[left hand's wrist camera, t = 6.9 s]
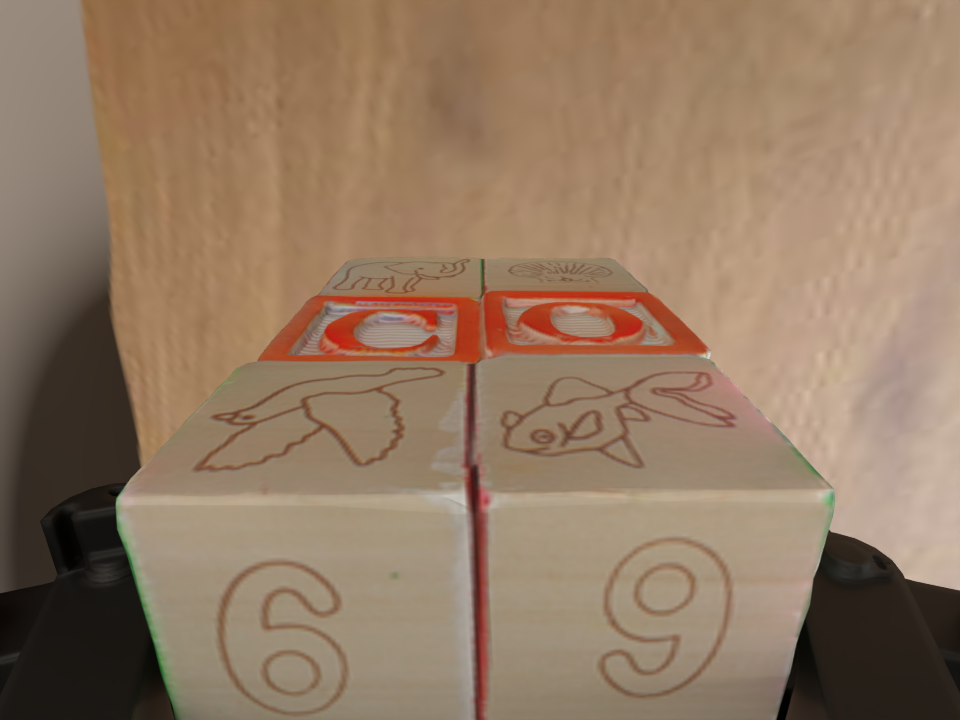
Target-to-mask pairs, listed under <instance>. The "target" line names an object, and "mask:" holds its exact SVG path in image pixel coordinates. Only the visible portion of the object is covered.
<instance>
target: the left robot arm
mask: <svg viewBox="0 0 960 720" xmlns="http://www.w3.org/2000/svg"><path fill="white" fill-rule="evenodd" d="M126 485H127V483H116V484H110V485H105V486H101V487H97V488H93V489H90V490H87V491H85V492H82V493H80V494H77V495H75V496H72V497H70V498H68V499H67V500H65V501H64V502H62V503H60V504H59V505H57V506H56V507H54V508H52V509H51V510H50V511H49V512H48V514H47V515H46V516H45V517H44V518H43V519H42V520H41V521H40V522H41V525H42V528H43V531H44V534H45V537H46V540H47V543H48V546H49V549H50V553H51V556H52V559H53V562H54V565H55V568H56V571H57V574H58V575H57V577H56V579H55V581H54V582H51V583H47V584H43V585H39V586H33V587H29V588H24V589H19V590H14V591H9V592H5V593H0V720H175V715H174V711H173V706H172V703H171V701H170V698H169V696H168V693H167V690H166V687H165V684H164V681H163V678H162V675H161V671H160V667H159V663H158V659H157V655H156V651H155V647H154V643H153V640H152V637H151V634H150V630H149V627H148V624H147V621H146V617H145V614H144V611H143V608H142V604H141V601H140V598H139V594H138V591H137V587H136V584H135V581H134V577H133V574H132V570H131V567H130V564H129V560H128V557H127V553H126V551H125V548H124V546H123V543H122V540H121V538H120V535H119V533H118V530H117V517H116V498H117V496H118V495H119V494H120V493H121V491H122V490H123V489H124V487H125V486H126ZM776 720H960V591H959V590H954V589H949V588H945V587H940V586H935V585H930V584H925V583H921V582H916V581H912V580H908V579H905V578H904V576H903V574H902V572H901V571H900V570H899V568H898V567H897V566H896V565H895V563H894V562H893V561H892V560H891V559H890V558H888V557H887V556H886V555H884V554H883V553H882V552H880V551H879V550H877V549H876V548H874V547H872V546H870V545H868V544H866V543H864V542H862V541H860V540H857V539H855V538H852V537H848V536H844V535H841V534H837V533H832V532H831V531H830V530H829V531H828V534H827V537H826V541H825V544H824V548H823V552H822V555H821V559H820V563H819V566H818V568H817V571H816V573H815V576H814V578H813V585H812V593H811V601H810V606H809V609H808V611H807V614H806V617H805V620H804V622H803V625H802V628H801V631H800V634H799V637H798V640H797V644H796V648H795V653H794V657H793V662H792V667H791V671H790V674H789V678H788V681H787V685H786V688H785V692H784V695H783V699H782V702H781V705H780V709H779V712H778V716H777V719H776Z"/></svg>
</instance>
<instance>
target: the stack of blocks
mask: <svg viewBox="0 0 960 720" xmlns="http://www.w3.org/2000/svg"><path fill="white" fill-rule="evenodd" d="M710 356H711V351H710V349H709V348H708V347H707V346H706V345H705V343H704V342H703V341H702V340H701V339H700V338H699V337H698V336H697V335H696V334H695V333H693V332H692V331H691V330H690V329H689V328H688V327H687V326H686V325H685V324H684V323H683V322H682V321H681V320H680V319H679V318H678V317H677V316H676V315H675V314H674V313H673V312H672V311H671V310H670V309H669V308H667V307H666V306H665V305H664V304H663V303H662V302H661V301H660V300H659V299H658V298H657V297H656V296H654V295H652V294H650V293H648V290H647V289H646V288H645V287H644V286H643V285H642V284H641V283H639V282H638V281H637V280H636V279H635V278H634V277H633V276H632V275H631V274H630V273H629V272H627V271H626V270H625V269H624V268H623V267H622V266H621V265H620V264H619V263H618V262H617V261H616V260H613V259H611V258H603V259H501V258H493V259H478V258H456V257H398V258H370V259H354V260H351V261H348V262H346V263H345V264H344V265H343V266H342V267H341V268H340V269H339V270H338V271H337V272H336V273H335V275H334V276H333V277H332V278H331V279H330V281H329V282H328V283H327V285H326V286H325V287H324V288H323V289H322V291H321V292H320V293H319V294H318V295H317V296H315V297H312V298H311V299H309V300H308V301H307V302H306V303H305V305H304V306H303V308H302V309H301V310H300V311H299V312H298V313H297V314H296V315H295V316H294V317H293V318H292V320H291V321H290V322H289V323H288V324H287V325H286V326H285V327H284V328H283V329H282V330H281V332H280V333H279V334H278V335H277V336H276V337H275V338H274V339H273V340H272V342H271V343H270V344H269V345H268V347H267V348H266V349H265V350H264V352H263V353H262V354H261V355H260V357H259V359H258V361H257V362H253V363H247V364H245V365H243V366H241V367H239V368H236V369H235V371H234V372H233V373H232V374H231V375H230V377H229V378H228V379H227V380H226V381H225V382H224V383H223V384H222V385H220V386H219V387H218V388H217V390H216V391H215V392H214V393H213V394H212V396H211V397H210V398H209V399H207V400H206V401H205V402H204V403H203V404H202V405H201V406H200V407H199V408H198V409H197V410H196V411H195V412H194V413H193V414H192V415H191V416H190V417H189V418H188V419H187V421H186V422H185V423H184V424H183V425H182V426H181V427H180V428H179V430H178V431H177V432H176V433H175V434H174V435H173V436H172V437H171V438H170V439H169V440H168V441H167V442H166V443H165V444H164V445H163V446H162V447H161V448H160V449H159V450H158V452H157V453H156V454H155V455H154V456H153V457H152V458H151V459H150V460H149V461H148V462H147V463H146V464H145V465H144V466H143V467H142V468H141V469H140V470H139V471H138V472H137V473H136V474H135V475H134V476H133V477H132V478H131V479H130V481H129V482H128V483H127V485H126V486H125V487H124V489H123V490H122V491H121V493H120V494H119V495H118V496H117V498H116V517H117V530H118V533H119V535H120V538H121V540H122V543H123V546H124V548H125V551H126V553H127V557H128V560H129V564H130V567H131V570H132V574H133V577H134V581H135V584H136V587H137V591H138V594H139V598H140V601H141V604H142V608H143V611H144V614H145V617H146V621H147V624H148V627H149V630H150V634H151V637H152V640H153V643H154V647H155V651H156V655H157V659H158V663H159V667H160V671H161V675H162V678H163V681H164V684H165V687H166V690H167V693H168V696H169V698H170V701H171V703H172V706H173V711H174V715H175V720H776V719H777V716H778V712H779V709H780V705H781V702H782V699H783V695H784V692H785V688H786V685H787V681H788V678H789V674H790V671H791V667H792V662H793V657H794V653H795V648H796V644H797V640H798V637H799V634H800V631H801V628H802V625H803V622H804V620H805V617H806V614H807V611H808V609H809V606H810V601H811V593H812V585H813V578H814V576H815V573H816V571H817V568H818V566H819V563H820V559H821V555H822V552H823V548H824V544H825V541H826V537H827V534H828V531H829V527H830V524H831V521H832V517H833V512H834V505H835V496H834V488H833V487H832V486H831V485H830V484H829V483H828V482H827V481H826V480H825V479H824V478H823V477H822V476H821V475H820V474H819V473H818V472H817V471H816V470H815V469H814V468H813V467H812V465H811V464H810V463H809V462H808V461H807V460H806V459H805V458H804V457H803V456H802V454H801V453H800V452H799V451H798V450H797V449H796V448H795V447H794V446H793V444H792V443H791V442H790V441H789V440H788V439H787V438H786V437H785V436H784V435H783V434H782V433H781V432H780V431H779V430H778V429H777V427H776V426H775V425H774V424H773V423H772V422H771V421H770V420H769V419H768V418H767V417H766V416H765V415H764V414H763V413H762V412H761V411H760V410H759V409H758V408H757V407H756V406H755V405H754V404H753V403H752V402H751V401H750V400H749V399H748V398H747V397H746V396H745V395H744V394H743V393H742V392H741V390H740V389H739V388H738V387H737V386H736V385H735V383H734V382H733V381H732V380H731V379H730V378H729V377H728V376H727V375H725V374H724V373H723V372H722V371H721V370H720V369H718V368H717V366H716V365H715V363H713V362H712V361H711V360H710Z"/></svg>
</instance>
